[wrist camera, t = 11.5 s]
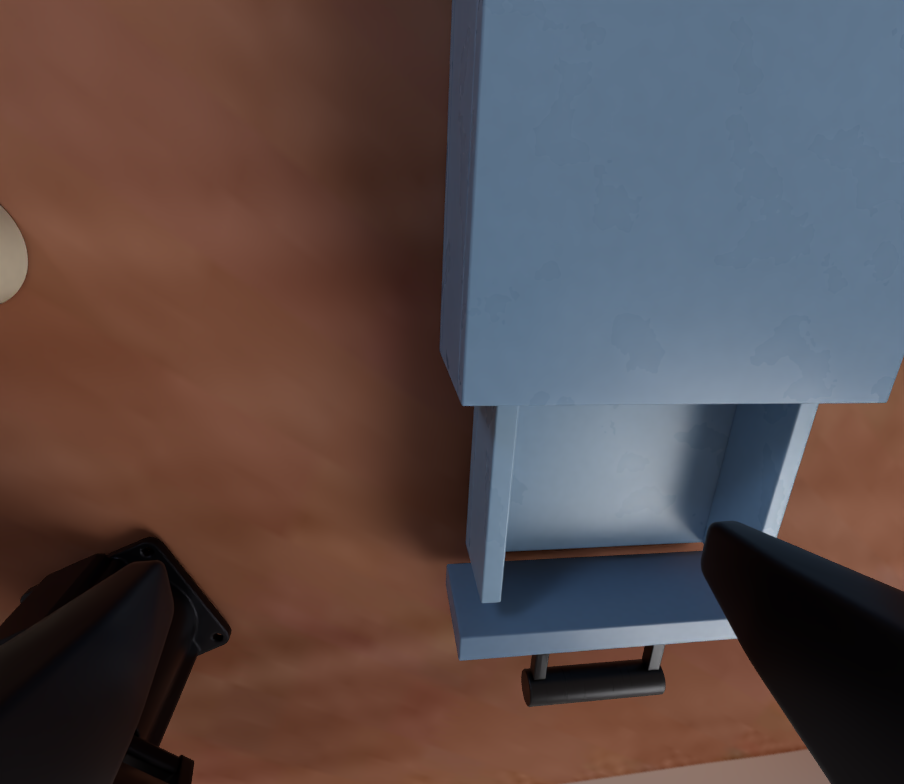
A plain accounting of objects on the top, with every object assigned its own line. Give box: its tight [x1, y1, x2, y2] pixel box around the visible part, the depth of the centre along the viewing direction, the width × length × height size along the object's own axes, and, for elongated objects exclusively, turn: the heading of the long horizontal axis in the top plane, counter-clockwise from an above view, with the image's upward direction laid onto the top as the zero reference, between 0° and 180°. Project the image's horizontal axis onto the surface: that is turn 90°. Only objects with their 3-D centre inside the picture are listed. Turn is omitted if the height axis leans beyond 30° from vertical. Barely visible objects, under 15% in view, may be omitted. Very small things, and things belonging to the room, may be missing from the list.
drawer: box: [446, 403, 819, 707], centre depth 21 cm, size 20×14×4 cm
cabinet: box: [440, 0, 904, 406], centre depth 16 cm, size 17×15×6 cm
